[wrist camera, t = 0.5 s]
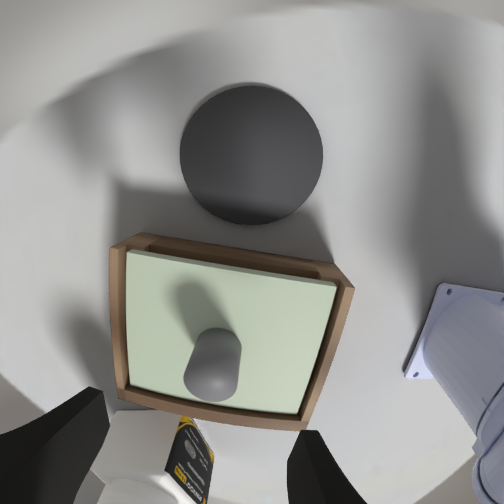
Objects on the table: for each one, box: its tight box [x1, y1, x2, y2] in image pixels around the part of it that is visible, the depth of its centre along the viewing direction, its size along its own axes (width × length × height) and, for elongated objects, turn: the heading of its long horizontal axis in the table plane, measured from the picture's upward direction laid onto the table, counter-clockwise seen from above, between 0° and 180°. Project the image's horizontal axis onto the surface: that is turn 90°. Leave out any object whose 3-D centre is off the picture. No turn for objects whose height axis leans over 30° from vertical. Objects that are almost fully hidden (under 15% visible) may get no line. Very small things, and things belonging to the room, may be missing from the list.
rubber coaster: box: [180, 86, 323, 225], centre depth 16 cm, size 8×8×1 cm
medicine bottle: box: [90, 410, 214, 504], centre depth 16 cm, size 7×7×12 cm
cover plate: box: [126, 249, 337, 414], centre depth 14 cm, size 9×10×4 cm
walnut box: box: [109, 233, 355, 431], centre depth 16 cm, size 10×12×4 cm
